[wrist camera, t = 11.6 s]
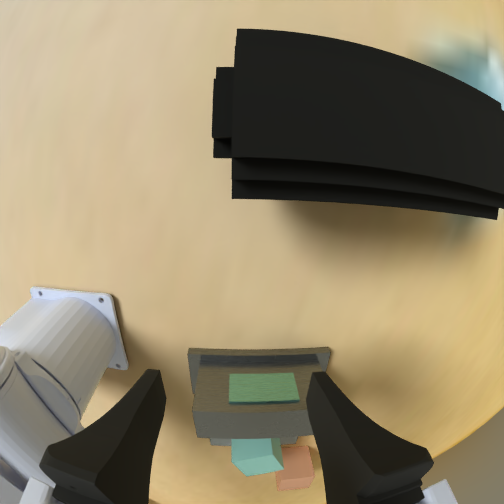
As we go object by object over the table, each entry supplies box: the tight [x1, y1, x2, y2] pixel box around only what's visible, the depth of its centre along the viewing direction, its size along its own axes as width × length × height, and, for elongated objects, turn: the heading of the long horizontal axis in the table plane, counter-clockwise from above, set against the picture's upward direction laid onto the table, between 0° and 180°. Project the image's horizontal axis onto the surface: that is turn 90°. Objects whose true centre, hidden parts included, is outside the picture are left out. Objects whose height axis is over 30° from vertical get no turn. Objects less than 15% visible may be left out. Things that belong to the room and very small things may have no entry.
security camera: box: [212, 29, 504, 220], centre depth 13 cm, size 7×18×10 cm, turn 89°
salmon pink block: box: [275, 446, 315, 491], centre depth 27 cm, size 4×4×5 cm
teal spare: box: [232, 438, 284, 476], centre depth 23 cm, size 4×4×5 cm
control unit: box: [188, 347, 331, 439], centre depth 20 cm, size 12×5×6 cm, turn 88°
